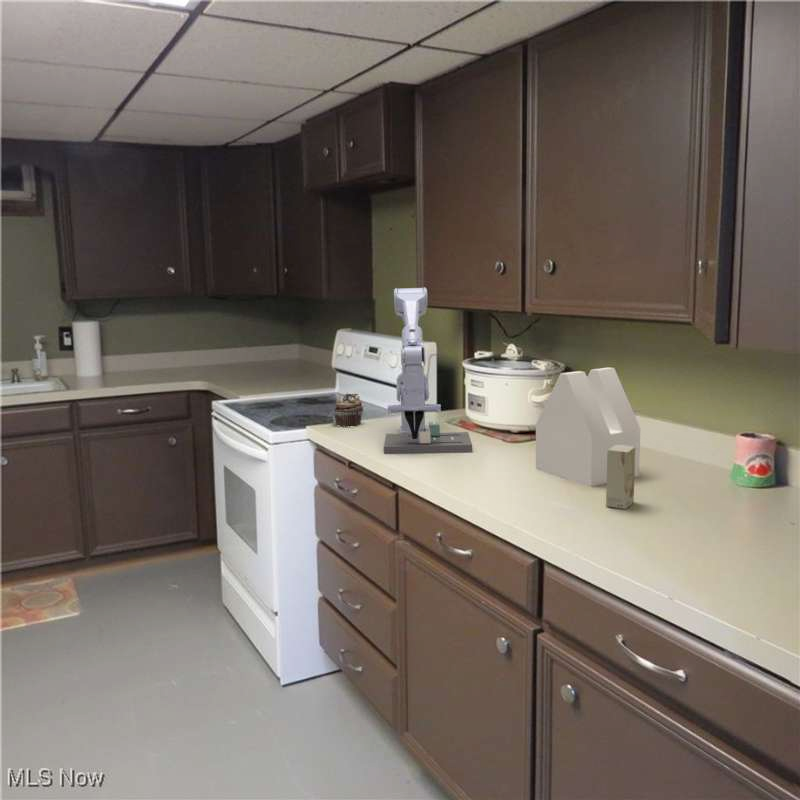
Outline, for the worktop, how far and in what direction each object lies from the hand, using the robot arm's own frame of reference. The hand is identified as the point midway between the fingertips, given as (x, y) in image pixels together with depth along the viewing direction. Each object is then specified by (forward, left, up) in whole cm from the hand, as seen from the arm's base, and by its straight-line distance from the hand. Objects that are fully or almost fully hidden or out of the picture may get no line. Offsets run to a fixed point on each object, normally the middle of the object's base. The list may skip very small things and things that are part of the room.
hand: (414, 438), depth 213 cm
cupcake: (-36, -22, -4) cm, 42 cm away
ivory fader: (0, +3, -1) cm, 3 cm away
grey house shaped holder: (+26, +42, -4) cm, 49 cm away
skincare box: (+51, +43, -4) cm, 67 cm away
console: (-4, +4, -3) cm, 7 cm away
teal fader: (-9, +6, -1) cm, 11 cm away
